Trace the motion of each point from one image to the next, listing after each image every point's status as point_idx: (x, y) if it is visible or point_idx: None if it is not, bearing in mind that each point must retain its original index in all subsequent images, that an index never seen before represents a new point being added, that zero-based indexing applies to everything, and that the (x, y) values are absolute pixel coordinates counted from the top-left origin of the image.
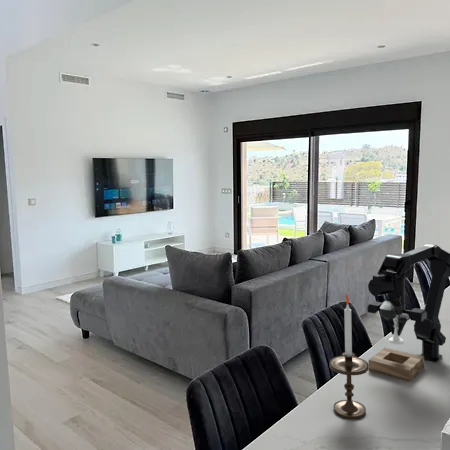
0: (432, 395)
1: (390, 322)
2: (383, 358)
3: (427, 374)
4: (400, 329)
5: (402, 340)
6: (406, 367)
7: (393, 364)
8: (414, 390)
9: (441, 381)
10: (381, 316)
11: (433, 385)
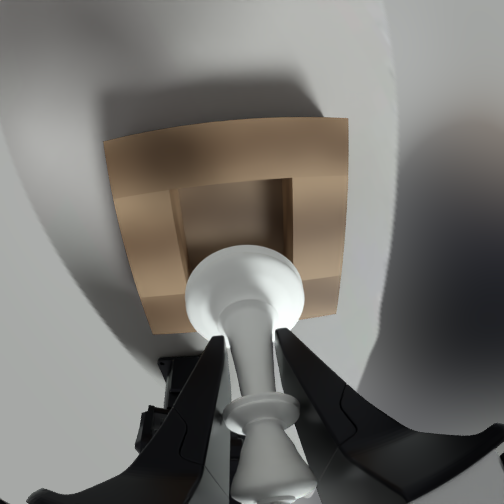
0: (29, 112)
1: (336, 429)
2: (291, 192)
3: (117, 257)
4: (185, 388)
5: (194, 320)
6: (130, 163)
7: (204, 146)
8: (80, 88)
9: (59, 238)
10: (500, 426)
11: (56, 186)
